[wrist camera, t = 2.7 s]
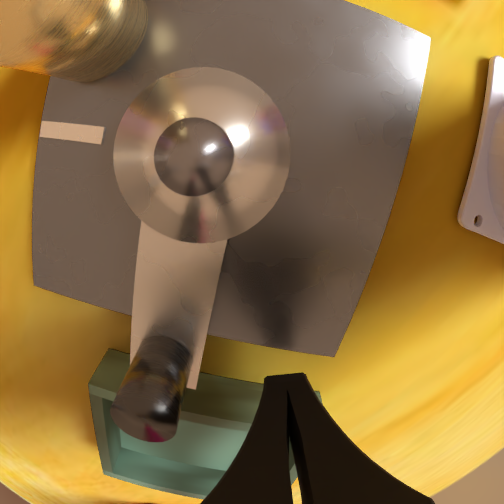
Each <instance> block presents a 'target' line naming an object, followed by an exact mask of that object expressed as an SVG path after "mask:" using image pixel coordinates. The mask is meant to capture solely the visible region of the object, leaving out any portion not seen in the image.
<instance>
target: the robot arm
mask: <svg viewBox="0 0 504 504" xmlns="http://www.w3.org/2000/svg"><path fill="white" fill-rule="evenodd" d="M476 216H477V217H478V218H477V222H476V223H475V224H474V219H475V217H476ZM457 218H458V222H459V224H460V225H461V226H462V227H464V228H466V229H468V230H471V231H473V232H476V233H478V234H481V235H483V236H486V237H488V238H490V239H493V240H495V241H498V242H500V243H502V244H504V59H503V58H502V57H500V56H494V57H491V58H490V61H489V69H488V78H487V87H486V94H485V101H484V107H483V113H482V119H481V124H480V129H479V134H478V139H477V144H476V148H475V153H474V157H473V161H472V165H471V169H470V173H469V177H468V180H467V184H466V188H465V191H464V195H463V198H462V201H461V205H460V208H459V211H458V216H457ZM289 438H290V443H291V448H292V452H293V457H294V462H295V466H296V471H297V476H298V480H299V485H300V491H301V497H302V504H435V503H434V501H433V500H432V499H431V498H429V497H427V496H425V495H423V494H422V493H420V492H418V491H416V490H414V489H412V488H411V487H409V486H407V485H406V484H404V483H403V482H401V481H399V480H398V479H396V478H395V477H393V476H392V475H391V474H389V473H388V472H387V471H385V470H384V469H383V468H381V467H380V466H379V465H378V464H376V463H375V462H374V461H372V460H371V459H370V458H369V457H368V456H367V455H366V454H365V453H363V452H362V451H361V450H360V449H359V448H358V447H357V446H356V445H355V444H354V443H353V442H352V441H351V440H350V439H349V438H348V436H347V435H346V434H345V433H344V432H343V431H342V430H341V428H340V427H339V426H338V425H337V424H336V422H335V421H334V420H333V418H332V417H331V416H330V414H329V413H328V412H327V410H326V409H325V407H324V406H323V405H322V403H321V402H320V400H319V399H318V397H317V395H316V394H315V392H314V390H313V388H312V387H311V385H310V383H309V381H308V379H307V376H306V374H304V373H293V374H284V375H273V376H267V377H266V378H264V386H263V392H262V396H261V399H260V403H259V406H258V409H257V412H256V414H255V417H254V420H253V423H252V425H251V427H250V429H249V432H248V434H247V436H246V438H245V440H244V442H243V444H242V446H241V448H240V450H239V452H238V453H237V455H236V457H235V458H234V460H233V462H232V463H231V465H230V466H229V468H228V469H227V471H226V472H225V474H224V475H223V477H222V478H221V479H220V481H219V482H218V483H217V485H216V486H215V487H214V488H213V490H212V491H211V492H210V493H209V494H208V495H207V497H206V498H205V499H204V500H203V501H202V502H201V504H293V498H292V489H291V480H290V471H289Z"/></svg>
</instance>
